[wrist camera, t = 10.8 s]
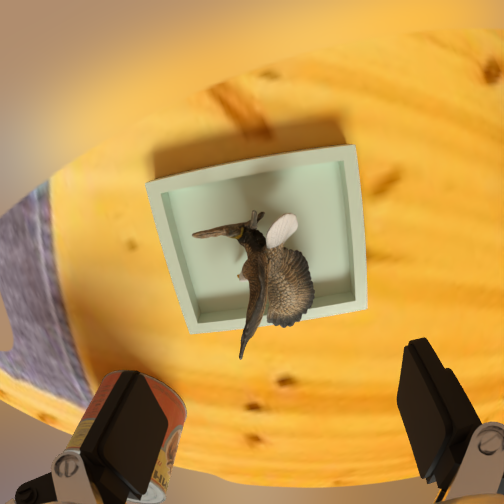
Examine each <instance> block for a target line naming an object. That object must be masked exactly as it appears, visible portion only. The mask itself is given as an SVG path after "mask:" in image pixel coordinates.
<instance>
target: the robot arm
mask: <svg viewBox="0 0 504 504" xmlns="http://www.w3.org/2000/svg"><path fill="white" fill-rule="evenodd" d="M397 405H398V408H399V411H400V414H401V417H402V420H403V423H404V426H405V429H406V432H407V435H408V438H409V441H410V444H411V447H412V450H413V454H414V457H415V460H416V463H417V467H418V470H419V473H420V476H421V478H422V479H424V478H426V480H427V484H430V483H432V482H437V485H438V488H440V491H439V492H438V495H437V496H436V499H435V500H434V502H433V504H504V425H503V424H501V423H498V422H488V423H484V424H482V423H481V421H480V419H479V417H478V415H477V414H476V412H475V410H474V408H473V406H472V404H471V402H470V401H469V399H468V397H467V395H466V393H465V392H464V390H463V388H462V386H461V385H460V383H459V381H458V379H457V378H456V376H455V374H454V373H453V371H452V370H451V369H450V368H446V369H445V368H444V367H443V365H442V363H441V361H440V360H439V358H438V356H437V355H436V353H435V351H434V350H433V348H432V346H431V345H430V343H429V342H428V340H427V339H426V338H425V337H424V338H420V339H416V340H411V341H410V342H409V344H408V346H405V347H404V353H403V361H402V368H401V375H400V381H399V387H398V393H397ZM167 429H168V419H167V417H166V415H165V414H164V412H163V410H162V408H161V407H160V405H159V403H158V401H157V399H156V398H155V396H154V394H153V392H152V390H151V388H150V386H149V384H148V383H147V381H146V379H145V377H144V376H143V375H141V374H140V372H138V371H123V372H122V373H121V375H120V376H119V378H118V380H117V382H116V383H115V385H114V387H113V389H112V390H111V392H110V394H109V396H108V397H107V399H106V401H105V403H104V404H103V406H102V408H101V410H100V412H99V413H98V415H97V417H96V419H95V421H94V422H93V424H92V426H91V428H90V430H89V432H88V434H87V435H86V437H85V439H84V441H83V443H82V445H81V447H80V449H79V450H80V451H81V452H80V454H78V453H76V452H73V451H67V452H63V453H61V454H59V455H58V456H57V457H56V458H55V459H54V461H53V462H52V466H51V472H50V473H48V474H45V475H43V476H41V477H38V478H36V479H34V480H31V481H28V482H26V483H24V484H22V485H21V486H20V487H19V488H18V489H17V491H16V495H15V500H13V499H11V500H10V501H8V502H7V503H5V504H126V500H127V498H130V499H135V500H139V501H141V498H142V495H144V494H145V493H146V492H147V489H148V486H149V483H150V480H151V477H152V474H153V471H154V468H155V465H156V462H157V459H158V456H159V453H160V450H161V447H162V444H163V441H164V438H165V435H166V432H167Z"/></svg>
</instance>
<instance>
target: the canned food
mask: <svg viewBox="0 0 504 504" xmlns="http://www.w3.org/2000/svg"><path fill="white" fill-rule="evenodd" d="M123 371H129V370H119V371H114V372H111V373H109V374H107V375H106V376H105V377H104V378H103V380H102V382H101V385H100V387H99V389H98V390H97V392H96V394H95V396H94V397H93V399H92V401H91V403H90V405H89V406H88V408H87V410H86V412H85V414H84V415H83V417H82V419H81V421H80V423H79V425H78V426H77V428H76V430H75V432H74V434H73V436H72V438H71V440H70V442H69V444H68V445H67V447H66V449H65V450H64V451H63V452H67V451H73V452H76V453H78V454H80V452H81V451H80V450H79V449H80V447H81V445H82V443H83V441H84V439H85V437H86V435H87V434H88V432H89V430H90V428H91V426H92V424H93V422H94V421H95V419H96V417H97V415H98V413H99V412H100V410H101V408H102V406H103V404H104V403H105V401H106V399H107V397H108V396H109V394H110V392H111V390H112V389H113V387H114V385H115V383H116V382H117V380H118V378H119V376H120V375H121V373H122V372H123ZM140 374H141V375H143V376H144V377H145V379H146V381H147V383H148V384H149V386H150V388H151V390H152V392H153V394H154V396H155V398H156V399H157V401H158V403H159V405H160V407H161V408H162V410H163V412H164V414H165V415H166V417H167V419H168V429H167V432H166V435H165V438H164V441H163V444H162V447H161V450H160V453H159V456H158V459H157V462H156V465H155V468H154V471H153V474H152V477H151V480H150V483H149V486H148V489H147V492H146V493H145V494H144V495H142V498H141V501H139V500H135V499H130V498H127V500H126V501H130V502H135V503H140V504H159V503H162V502H164V501H165V499H166V491H167V487H168V483H169V479H170V475H171V472H172V468H173V464H174V460H175V456H176V452H177V448H178V444H179V440H180V437H181V433H182V429H183V425H184V422H185V420H186V417H187V410H186V407H185V404H184V402H183V401H182V399H181V398H180V397H179V396H178V395H177V394H176V392H174V391H173V390H172V389H171V388H170V387H168V386H167V385H166V384H164V383H162V382H161V381H159V380H157V379H155V378H153V377H151V376H148V375H146V374H143V373H140Z"/></svg>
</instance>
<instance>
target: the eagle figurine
mask: <svg viewBox="0 0 504 504" xmlns="http://www.w3.org/2000/svg"><path fill="white" fill-rule="evenodd" d="M264 214H265V212H260V213H259V214H258V216H257V212H256V211H255V210H253V211H252V216H251V220H249V221H247V222H242V223H237V224H230V225H224V226H220V227H216V228H212V229H209V230H205V231H199V232H196V233H193V234H192V236H193V237H194V238H200V239H204V238H210V237H217V236H220V235H222V236H227V237H229V238H232V239H237V240H238V242H239V244H240V245H242V246H243V247H244V248H245V250H246V253H247V257H248V259H247V260H246V261H245V263H244V265H243V267H242V271H241V273H240V274H238V275H237V277H238V278H239V281H240V282H247V281H249V289H250V296H249V303H248V308H247V313H246V324H245V327H244V330H243V334H242V337H241V348H240V354H239V358H240V360H241V359H242V357H243V352H244V349H245V346H246V344H247V342H248V341H249V339H250V338H251V337H252V336H253V335H254V333H255V331H256V329H257V328H258V326H259V324H260V323H261V320H262V317H263V314H264V310H265V308H266V303H267V294H268V300H269V307H268V311H267V323H273V324H274V325H275V326H278V325H280V326H281V327H283V328H285V327H286V326H293V325H294V323H295V322H299V321H300V320H301V318H302V314H306V313H307V310H308V309H310V308H311V306H312V304H313V299H314V298H315V296H314V294H315V290H314V289H313V288H314V286H313V282H312V281H311V276H310V275H311V274H310V271H309V266H308V261H307V260H306V258H305V257H304V256H303V255H302V252H299V251H298V250H295V251H294V250H292V249H290V250H288V248H286V247H284V243H285V241H286V240H287V239H288V238H289V237H290V236H291V235H292V234H293V233H294V232H295V231H296V230H297V228H298V221H297V216H296V215H295V214H293V213H285V214H283V215H282V216H281V217H279V218H278V219H277V220H276V221H274V222H273V223H272V225H271V227H270V228H269V230H268V231H267V234H266V238H265V237H264V236H263V233H261V232H260V231H259V230H256V229H257V223H258V221H260V220H261V219H262V218H263V216H264Z"/></svg>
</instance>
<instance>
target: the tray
mask: <svg viewBox="0 0 504 504" xmlns="http://www.w3.org/2000/svg"><path fill="white" fill-rule="evenodd" d="M145 186H146V190H147V194H148V198H149V202H150V206H151V210H152V213H153V217H154V221H155V224H156V228H157V232H158V235H159V239H160V242H161V246H162V249H163V253H164V256H165V259H166V263H167V266H168V269H169V272H170V276H171V279H172V282H173V285H174V288H175V291H176V295H177V298H178V301H179V304H180V307H181V310H182V313H183V316H184V318H185V321H186V324H187V327H188V330H189V333H190V334H198V333H209V332H218V331H227V330H236V329H244V327H245V324H246V313H247V308H248V303H249V296H250V289H249V281H247V282H240V281H239V278H238V277H237V275H238V274H240V273H241V271H242V267H243V265H244V263H245V261H246V260H247V259H248V257H247V253H246V250H245V248H244V247H243V246H242V245H240V244H239V242H238V240H237V239H232V238H229V237H227V236H222V235H220V236H217V237H210V238H204V239H200V238H194V237H193V236H192V234H193V233H196V232H199V231H205V230H209V229H212V228H216V227H220V226H224V225H230V224H237V223H242V222H247V221H249V220H251V216H252V211H253V210H255V211H256V212H257V216H258V214H259V213H260V212H265V214H264V216H263V218H262V219H261V220H260V221H258V223H257V229H256V230H259V231H260V232H261V233H263V236H264V237H265V238H266V234H267V231H268V230H269V228H270V227H271V225H272V223H273V222H274V221H276V220H277V219H278V218H279V217H281V216H282V215H283V214H285V213H293V214H295V215H296V216H297V221H298V228H297V230H296V231H295V232H294V233H293V234H292V235H291V236H290V237H289V238H288V239H287V240H286V241H285V243H284V247H286V248H288V250H290V249H292V250H294V251H295V250H298V251H299V252H302V255H303V256H304V257H305V258H306V260H307V261H308V266H309V271H310V274H311V275H310V276H311V281H312V282H313V286H314V288H313V289H314V290H315V294H314V296H315V298H314V299H313V304H312V306H311V308H310V309H308V310H307V313H306V314H302V318H301V320H300V321H302V320H308V319H314V318H320V317H326V316H332V315H338V314H343V313H349V312H354V311H359V310H365V309H367V267H366V246H365V231H364V217H363V206H362V196H361V186H360V177H359V169H358V161H357V154H356V147H355V145H353V144H341V145H333V146H325V147H317V148H310V149H303V150H296V151H289V152H283V153H277V154H271V155H265V156H259V157H254V158H248V159H243V160H237V161H232V162H227V163H222V164H217V165H213V166H208V167H203V168H199V169H194V170H190V171H186V172H181V173H177V174H173V175H169V176H165V177H161V178H157V179H154V180H151V181H149V182H147V183H145ZM268 307H269V300H268V294H267V303H266V308H265V310H264V314H263V317H262V320H261V323H260V324H259V326H258V327H260V326H268V325H274V324H273V323H267V311H268Z"/></svg>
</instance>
